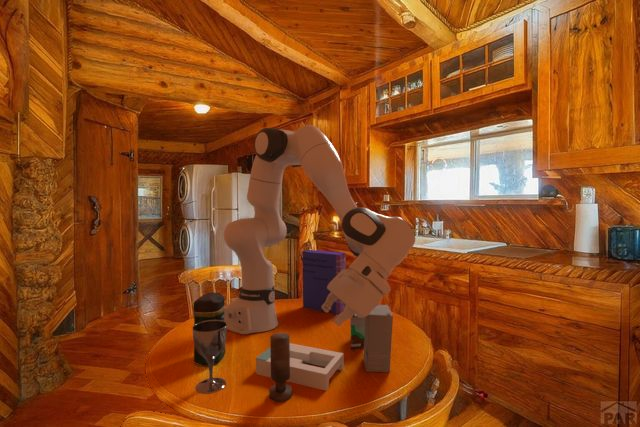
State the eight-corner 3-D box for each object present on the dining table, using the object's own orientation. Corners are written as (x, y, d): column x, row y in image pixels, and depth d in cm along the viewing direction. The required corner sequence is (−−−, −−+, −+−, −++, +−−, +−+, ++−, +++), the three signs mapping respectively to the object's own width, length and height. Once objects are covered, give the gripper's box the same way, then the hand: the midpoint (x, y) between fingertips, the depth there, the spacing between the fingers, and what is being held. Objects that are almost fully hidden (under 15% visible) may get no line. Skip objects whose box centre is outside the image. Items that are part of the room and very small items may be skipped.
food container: (371, 352, 102) (371, 319, 101) (350, 351, 103) (350, 318, 102) (373, 336, 114) (373, 306, 113) (354, 334, 115) (354, 305, 114)
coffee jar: (219, 366, 94) (217, 299, 93) (190, 367, 94) (188, 299, 93) (229, 351, 104) (227, 290, 103) (202, 351, 104) (201, 290, 103)
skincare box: (363, 358, 98) (362, 303, 98) (388, 358, 98) (388, 303, 97) (366, 373, 90) (366, 313, 89) (393, 373, 90) (393, 313, 89)
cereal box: (345, 311, 139) (345, 252, 137) (340, 315, 134) (340, 254, 133) (309, 305, 147) (308, 249, 146) (303, 308, 143) (302, 250, 142)
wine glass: (198, 377, 88) (197, 320, 88) (230, 376, 89) (229, 319, 88) (189, 395, 80) (188, 332, 80) (224, 393, 81) (223, 331, 80)
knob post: (265, 399, 79) (264, 339, 78) (276, 387, 83) (276, 330, 83) (284, 404, 77) (284, 342, 76) (295, 392, 81) (295, 334, 81)
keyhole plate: (256, 373, 90) (255, 358, 90) (279, 354, 101) (279, 340, 101) (326, 390, 82) (326, 373, 82) (343, 367, 93) (343, 352, 93)
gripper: (343, 257, 94) (309, 296, 92) (376, 273, 74) (333, 323, 72) (359, 272, 95) (325, 311, 93) (394, 292, 76) (353, 341, 74)
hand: (329, 316), depth 83 cm, fingers open, 8 cm apart
